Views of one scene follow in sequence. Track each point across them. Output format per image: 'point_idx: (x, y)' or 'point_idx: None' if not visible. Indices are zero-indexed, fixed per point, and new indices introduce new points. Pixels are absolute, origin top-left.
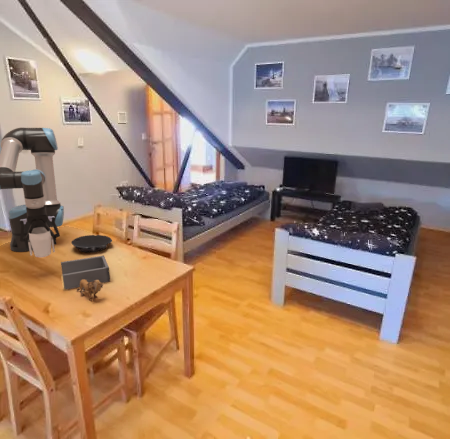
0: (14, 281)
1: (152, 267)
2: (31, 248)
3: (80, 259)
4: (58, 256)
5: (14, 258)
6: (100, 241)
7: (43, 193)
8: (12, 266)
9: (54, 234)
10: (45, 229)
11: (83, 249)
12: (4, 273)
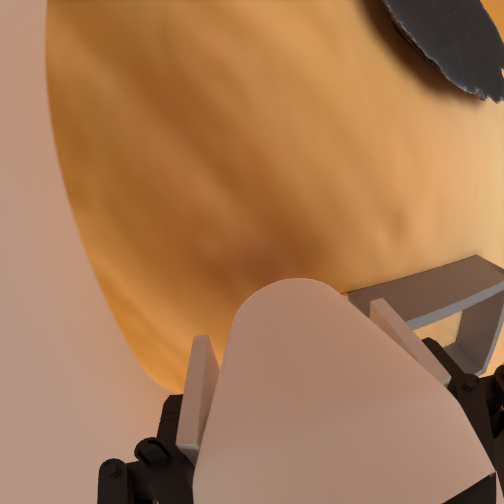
0: (143, 307)
1: None
2: (206, 371)
3: (453, 307)
4: (301, 46)
5: (78, 51)
6: (480, 35)
7: None
8: (82, 139)
9: (479, 401)
10: (461, 440)
11: (435, 68)
12: (73, 216)
